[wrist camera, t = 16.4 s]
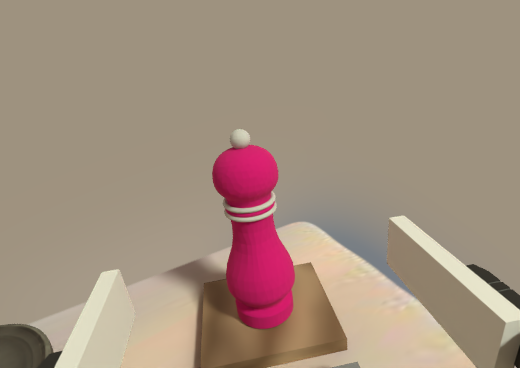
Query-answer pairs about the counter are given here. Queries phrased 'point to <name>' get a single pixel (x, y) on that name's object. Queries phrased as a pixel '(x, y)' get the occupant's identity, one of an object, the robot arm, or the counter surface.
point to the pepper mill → (254, 234)
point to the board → (273, 339)
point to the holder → (349, 365)
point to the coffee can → (22, 346)
